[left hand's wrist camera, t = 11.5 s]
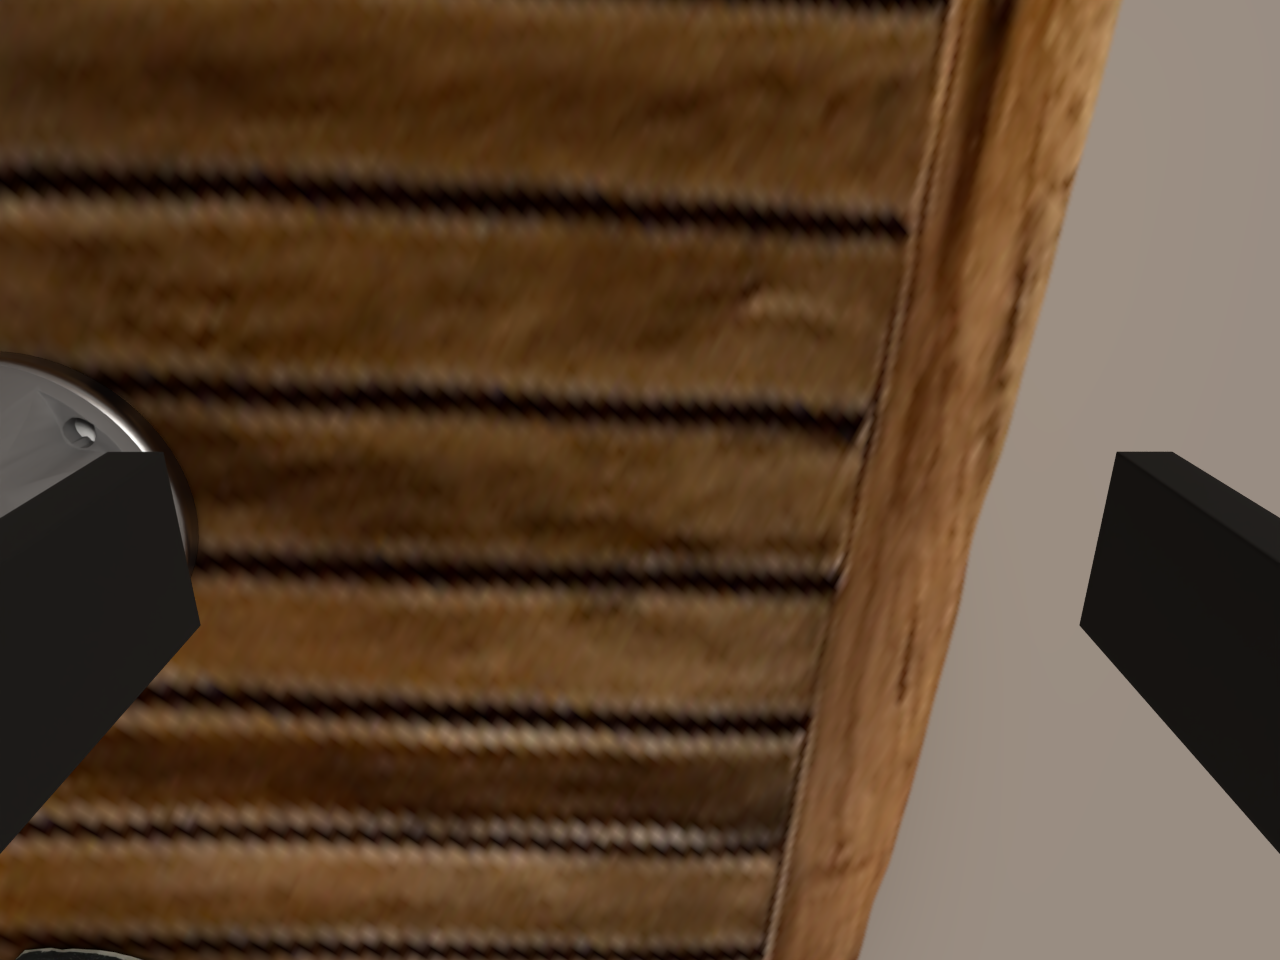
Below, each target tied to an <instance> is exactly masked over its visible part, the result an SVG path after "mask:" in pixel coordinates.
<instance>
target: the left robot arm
mask: <svg viewBox="0 0 1280 960" xmlns="http://www.w3.org/2000/svg"><path fill="white" fill-rule="evenodd" d="M198 539H199V535H198V520H197V513H196V508H195V504H194V500H193V496H192V493H191V490H190V487H189V485H188V482H187V479H186V477H185V475H184V473H183V471H182V469H181V467H180V465H179V463H178V461H177V460H176V458H175V456H174V455H173V453H172V451H171V450H170V449H169V447H168V446H167V444H166V443H165V442H164V440H163V439H162V437H161V436H160V435H159V434H158V433H157V431H156V430H155V429H154V428H153V427H152V426H151V424H150V423H149V422H148V421H147V420H146V419H145V418H144V417H143V416H142V415H141V414H140V413H139V412H138V411H137V410H135V409H134V408H133V407H132V406H131V405H130V404H128V403H127V402H126V401H125V400H124V399H122V398H121V397H119V396H118V395H117V394H115V393H114V392H113V391H111V390H110V389H108V388H107V387H105V386H103V385H102V384H100V383H99V382H97V381H95V380H94V379H92V378H90V377H88V376H86V375H84V374H82V373H80V372H78V371H76V370H73V369H71V368H69V367H66V366H64V365H61V364H58V363H55V362H52V361H49V360H46V359H43V358H39V357H34V356H30V355H25V354H18V353H11V352H0V853H1V852H2V851H3V850H4V849H5V848H6V847H7V845H8V844H9V843H10V842H11V841H12V840H13V839H14V837H15V836H16V835H17V834H18V833H19V832H20V831H21V829H22V828H23V827H24V826H25V825H26V824H27V823H28V821H29V820H30V819H31V818H32V817H33V816H34V815H35V813H36V812H37V811H38V810H39V809H40V808H41V807H42V805H43V804H44V803H45V802H46V801H47V800H48V799H49V798H50V796H51V795H52V794H53V793H54V792H55V791H56V790H57V788H58V787H59V786H60V785H61V784H62V783H63V782H64V780H65V779H66V778H67V777H68V776H69V775H70V774H71V772H72V771H73V770H74V769H75V768H76V767H77V766H78V764H79V763H80V762H81V761H82V760H83V759H84V758H85V756H86V755H87V754H88V753H89V752H90V751H91V750H92V748H93V747H94V746H95V745H96V744H97V743H98V742H99V740H100V739H101V738H102V737H103V736H104V735H105V734H106V732H107V731H108V730H109V729H110V728H111V727H112V726H113V725H114V723H115V722H116V721H117V720H118V719H119V718H120V717H121V715H122V714H123V713H124V712H125V711H126V710H127V709H128V707H129V706H130V705H131V704H132V703H133V702H134V701H135V699H136V698H137V697H138V696H139V695H140V694H141V693H142V691H143V690H144V689H145V688H146V687H147V686H148V685H149V683H150V682H151V681H152V680H153V679H154V678H155V677H156V675H157V674H158V673H159V672H160V671H161V670H162V669H163V667H164V666H165V665H166V664H167V663H168V662H169V661H170V659H171V658H172V657H173V656H174V655H175V654H176V653H177V652H178V650H179V649H180V648H181V647H182V646H183V645H184V644H185V642H186V641H187V640H188V639H189V638H190V637H191V636H192V634H193V633H194V632H195V631H196V630H197V629H198V628H199V626H200V621H199V616H198V611H197V607H196V602H195V597H194V593H193V588H192V583H191V579H190V578H191V575H192V572H193V569H194V566H195V562H196V557H197V552H198ZM1080 626H1081V628H1082V629H1083V630H1084V631H1085V632H1086V633H1087V634H1088V635H1089V637H1090V638H1091V639H1092V640H1093V641H1094V642H1095V643H1096V645H1097V646H1098V647H1099V648H1100V649H1101V650H1102V652H1103V653H1104V654H1105V655H1106V656H1107V657H1108V658H1109V659H1110V661H1111V662H1112V663H1113V664H1114V665H1115V666H1116V667H1117V669H1118V670H1119V671H1120V672H1121V673H1122V674H1123V675H1124V677H1125V678H1126V679H1127V680H1128V681H1129V682H1130V683H1131V685H1132V686H1133V687H1134V688H1135V689H1136V690H1137V691H1138V693H1139V694H1140V695H1141V696H1142V697H1143V698H1144V699H1145V701H1146V702H1147V703H1148V704H1149V705H1150V706H1151V707H1152V709H1153V710H1154V711H1155V712H1156V713H1157V714H1158V715H1159V717H1160V718H1161V719H1162V720H1163V721H1164V722H1165V723H1166V725H1167V726H1168V727H1169V728H1170V729H1171V730H1172V731H1173V732H1174V734H1175V735H1176V736H1177V737H1178V738H1179V739H1180V740H1181V742H1182V743H1183V744H1184V745H1185V746H1186V747H1187V748H1188V750H1189V751H1190V752H1191V753H1192V754H1193V755H1194V756H1195V758H1196V759H1197V760H1198V761H1199V762H1200V763H1201V764H1202V766H1203V767H1204V768H1205V769H1206V770H1207V771H1208V772H1209V774H1210V775H1211V776H1212V777H1213V778H1214V779H1215V780H1216V782H1217V783H1218V784H1219V785H1220V786H1221V787H1222V788H1223V789H1224V791H1225V792H1226V793H1227V794H1228V795H1229V796H1230V798H1231V799H1232V800H1233V801H1234V802H1235V803H1236V804H1237V805H1238V807H1239V808H1240V809H1241V810H1242V811H1243V812H1244V813H1245V815H1246V816H1247V817H1248V818H1249V819H1250V820H1251V821H1252V823H1253V824H1254V825H1255V826H1256V827H1257V828H1258V829H1259V831H1260V832H1261V833H1262V834H1263V835H1264V836H1265V837H1266V839H1267V840H1268V841H1269V842H1270V843H1271V844H1272V845H1273V847H1274V848H1275V849H1276V850H1277V851H1278V852H1279V853H1280V518H1279V517H1277V516H1276V515H1274V514H1273V513H1271V512H1269V511H1268V510H1266V509H1264V508H1263V507H1261V506H1259V505H1258V504H1256V503H1255V502H1253V501H1251V500H1250V499H1248V498H1247V497H1245V496H1243V495H1242V494H1240V493H1238V492H1237V491H1235V490H1233V489H1232V488H1230V487H1229V486H1227V485H1225V484H1224V483H1222V482H1221V481H1219V480H1217V479H1216V478H1214V477H1212V476H1211V475H1209V474H1208V473H1206V472H1204V471H1203V470H1201V469H1199V468H1198V467H1196V466H1195V465H1193V464H1191V463H1190V462H1188V461H1186V460H1185V459H1183V458H1182V457H1180V456H1178V455H1177V454H1175V453H1173V452H1117V453H1116V458H1115V462H1114V467H1113V471H1112V476H1111V481H1110V485H1109V490H1108V495H1107V499H1106V504H1105V509H1104V513H1103V518H1102V523H1101V528H1100V532H1099V537H1098V541H1097V546H1096V551H1095V555H1094V560H1093V565H1092V569H1091V574H1090V579H1089V583H1088V588H1087V593H1086V597H1085V602H1084V607H1083V611H1082V616H1081V621H1080Z"/></svg>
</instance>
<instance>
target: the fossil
mask: <svg viewBox="0 0 1280 960" xmlns="http://www.w3.org/2000/svg"><path fill="white" fill-rule="evenodd" d="M15 960H142V959H138V958H135V957H132V956H127V955H122V954H118V953H115V952H108V951H102V950H85V949H65V950H60V949H55V948H45V949H32V950H25V951H24V952H23V953H22V954H21V955H20V956H19V957H17V958H16V959H15Z"/></svg>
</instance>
